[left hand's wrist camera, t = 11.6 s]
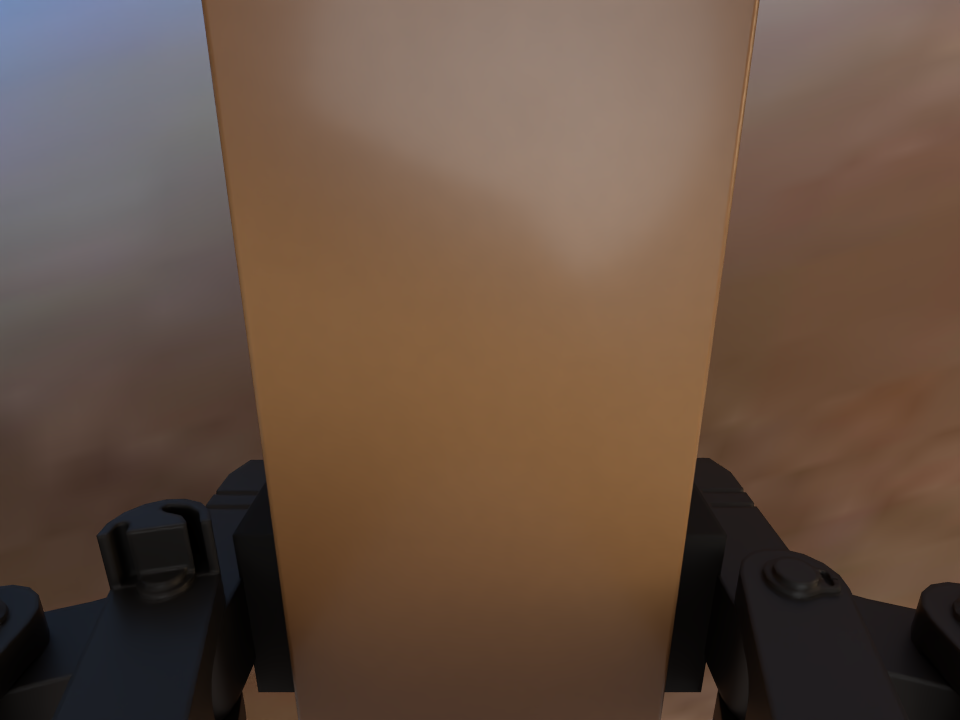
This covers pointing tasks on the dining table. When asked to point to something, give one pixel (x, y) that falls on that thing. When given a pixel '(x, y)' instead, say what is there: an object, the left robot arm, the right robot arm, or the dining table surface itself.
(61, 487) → the dining table surface
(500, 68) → the post
